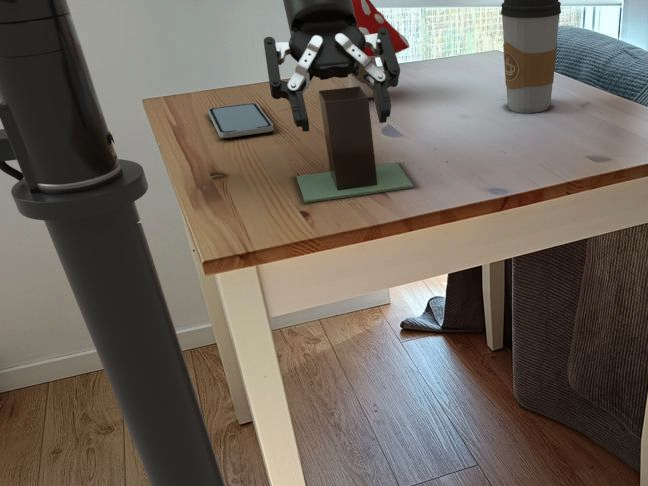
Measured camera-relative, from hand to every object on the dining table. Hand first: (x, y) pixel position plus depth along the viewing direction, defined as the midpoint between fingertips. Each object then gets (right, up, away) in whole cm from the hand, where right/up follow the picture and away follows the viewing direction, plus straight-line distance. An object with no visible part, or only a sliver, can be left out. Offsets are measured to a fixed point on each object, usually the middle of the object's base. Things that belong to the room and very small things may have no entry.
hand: (345, 123), depth 75 cm
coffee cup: (+22, +11, +27) cm, 37 cm away
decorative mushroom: (-2, +16, +35) cm, 38 cm away
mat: (0, -6, +3) cm, 7 cm away
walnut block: (0, -5, +3) cm, 6 cm away
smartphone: (-20, +8, +25) cm, 32 cm away
